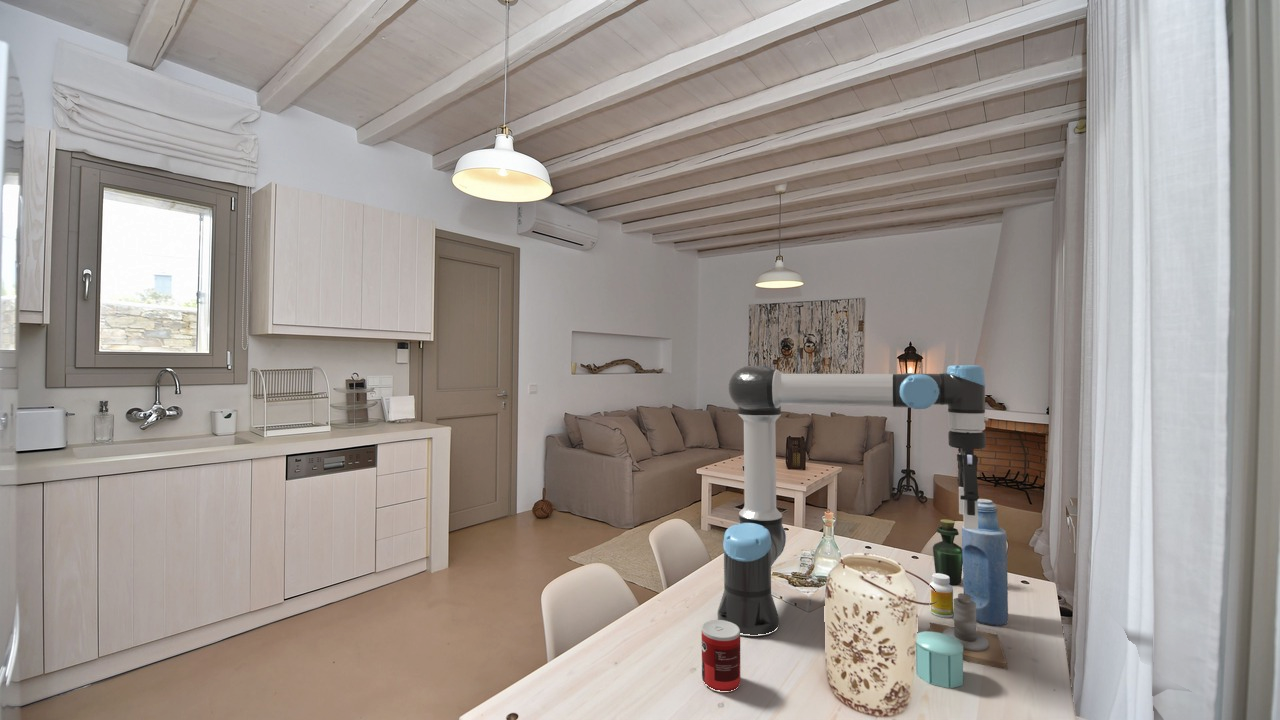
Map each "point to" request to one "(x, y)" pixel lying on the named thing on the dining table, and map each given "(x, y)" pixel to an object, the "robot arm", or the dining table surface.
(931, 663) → the cap
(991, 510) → the bottle
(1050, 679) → the dining table surface
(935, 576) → the supplement bottle
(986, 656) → the stud post
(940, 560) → the potion bottle
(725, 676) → the canned food
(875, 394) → the robot arm
